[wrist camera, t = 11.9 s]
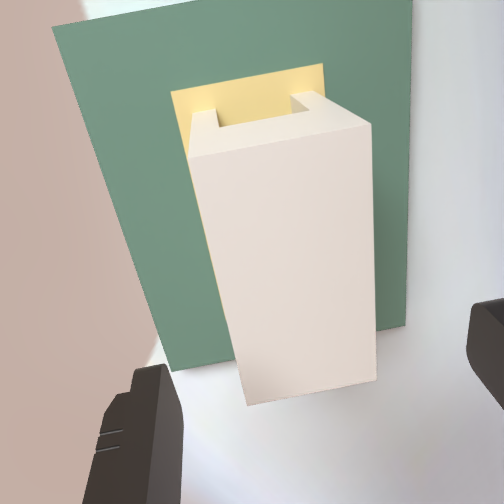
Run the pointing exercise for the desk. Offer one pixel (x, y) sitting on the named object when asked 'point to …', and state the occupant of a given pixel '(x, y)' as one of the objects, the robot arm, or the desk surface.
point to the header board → (230, 113)
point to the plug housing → (291, 244)
